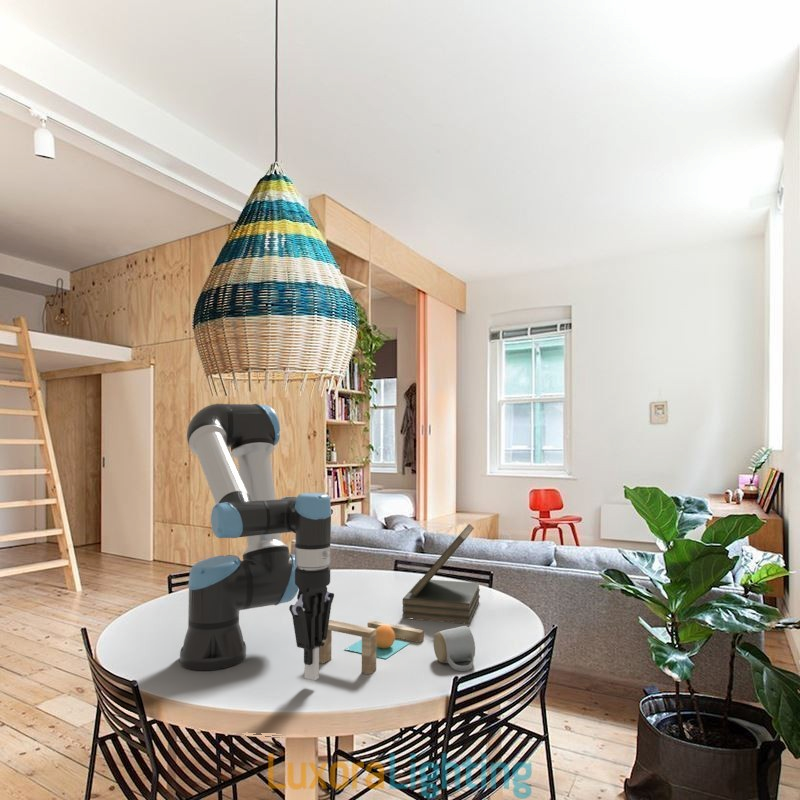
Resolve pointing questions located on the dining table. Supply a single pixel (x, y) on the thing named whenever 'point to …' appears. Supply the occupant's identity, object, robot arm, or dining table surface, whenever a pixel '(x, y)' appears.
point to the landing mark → (379, 651)
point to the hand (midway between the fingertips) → (311, 677)
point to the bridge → (364, 632)
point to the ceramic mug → (455, 647)
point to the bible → (443, 593)
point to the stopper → (401, 631)
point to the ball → (384, 637)
